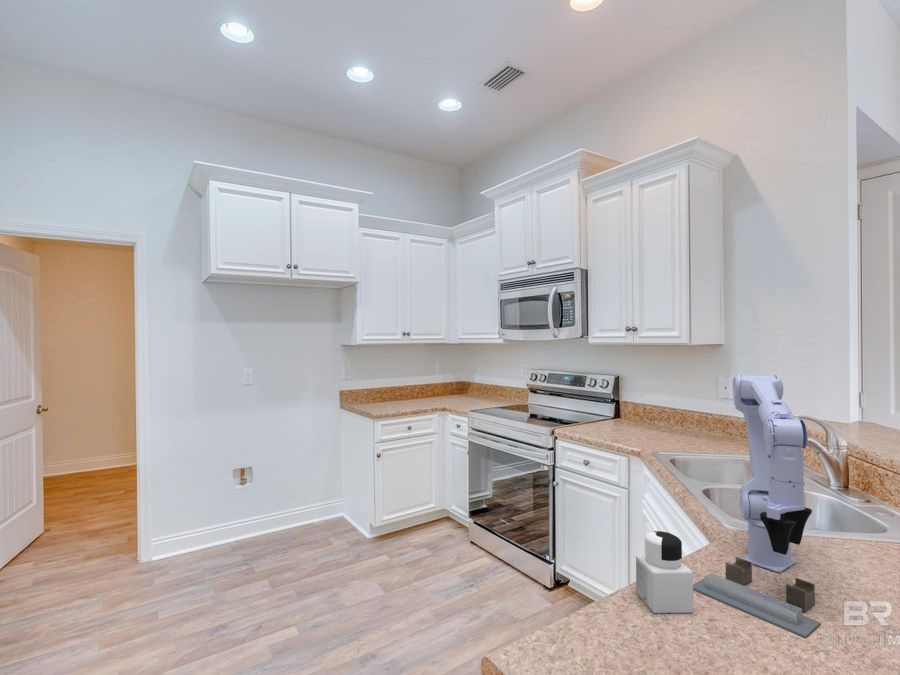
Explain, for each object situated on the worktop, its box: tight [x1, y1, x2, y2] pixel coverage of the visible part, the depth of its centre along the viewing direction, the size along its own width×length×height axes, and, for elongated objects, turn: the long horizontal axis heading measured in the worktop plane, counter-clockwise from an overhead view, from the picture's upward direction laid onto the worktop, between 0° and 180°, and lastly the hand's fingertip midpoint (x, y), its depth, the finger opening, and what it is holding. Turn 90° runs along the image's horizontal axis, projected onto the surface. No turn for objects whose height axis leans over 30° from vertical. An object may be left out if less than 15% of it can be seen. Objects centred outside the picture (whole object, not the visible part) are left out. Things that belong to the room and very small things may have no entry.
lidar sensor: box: [635, 530, 694, 614], centre depth 90 cm, size 8×8×13 cm
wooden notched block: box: [725, 556, 753, 587], centre depth 98 cm, size 5×3×4 cm, turn 124°
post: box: [785, 577, 816, 614], centre depth 89 cm, size 5×3×4 cm, turn 124°
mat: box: [693, 578, 822, 639], centre depth 89 cm, size 7×20×1 cm, turn 34°
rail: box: [703, 572, 803, 626], centre depth 89 cm, size 2×16×2 cm, turn 34°
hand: (786, 547), depth 92 cm, fingers open, 7 cm apart
